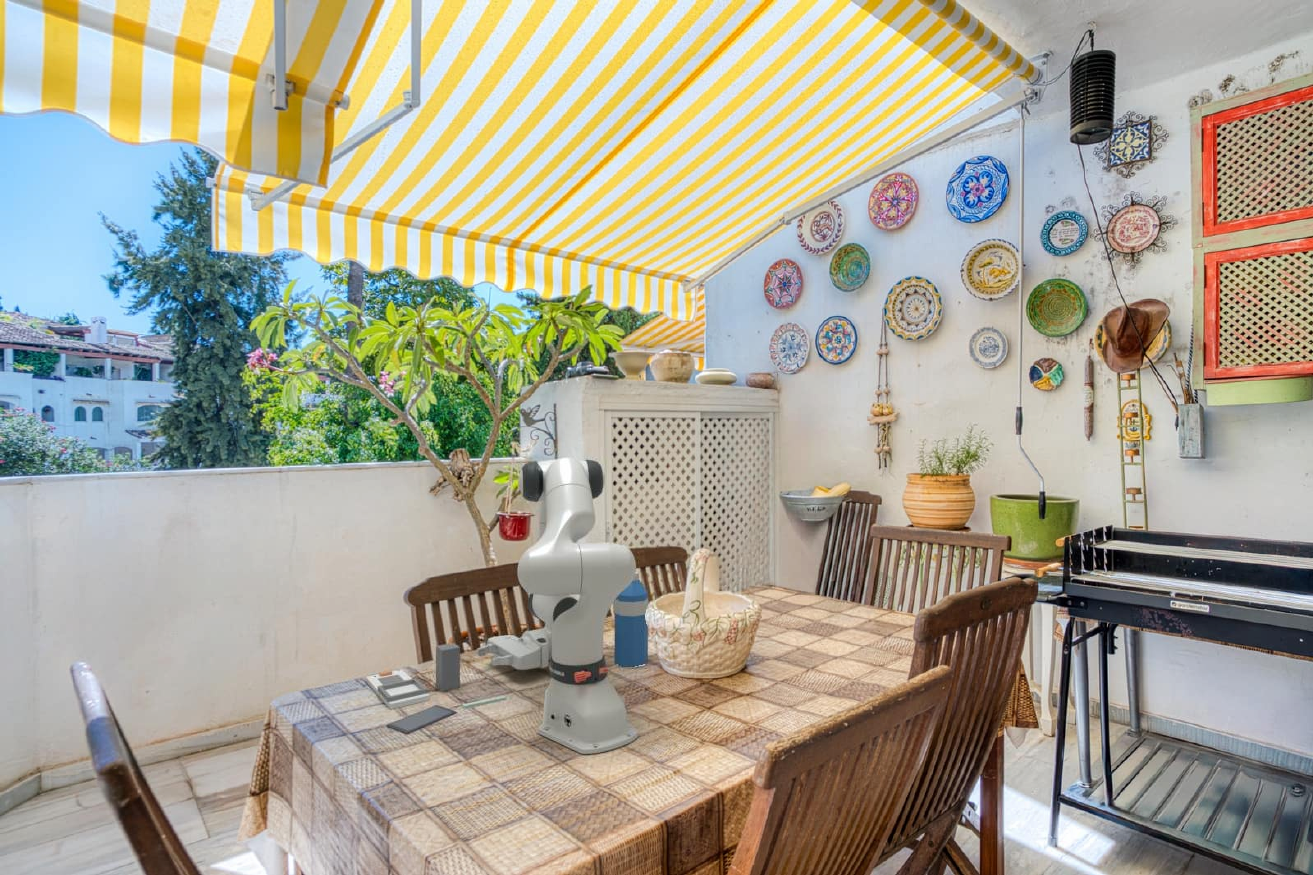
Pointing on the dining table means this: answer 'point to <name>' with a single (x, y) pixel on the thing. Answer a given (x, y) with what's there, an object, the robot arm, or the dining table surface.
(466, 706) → the pale green stick
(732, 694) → the dining table surface
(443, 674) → the grey rectangular block
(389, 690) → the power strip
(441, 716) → the phone
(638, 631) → the water bottle
